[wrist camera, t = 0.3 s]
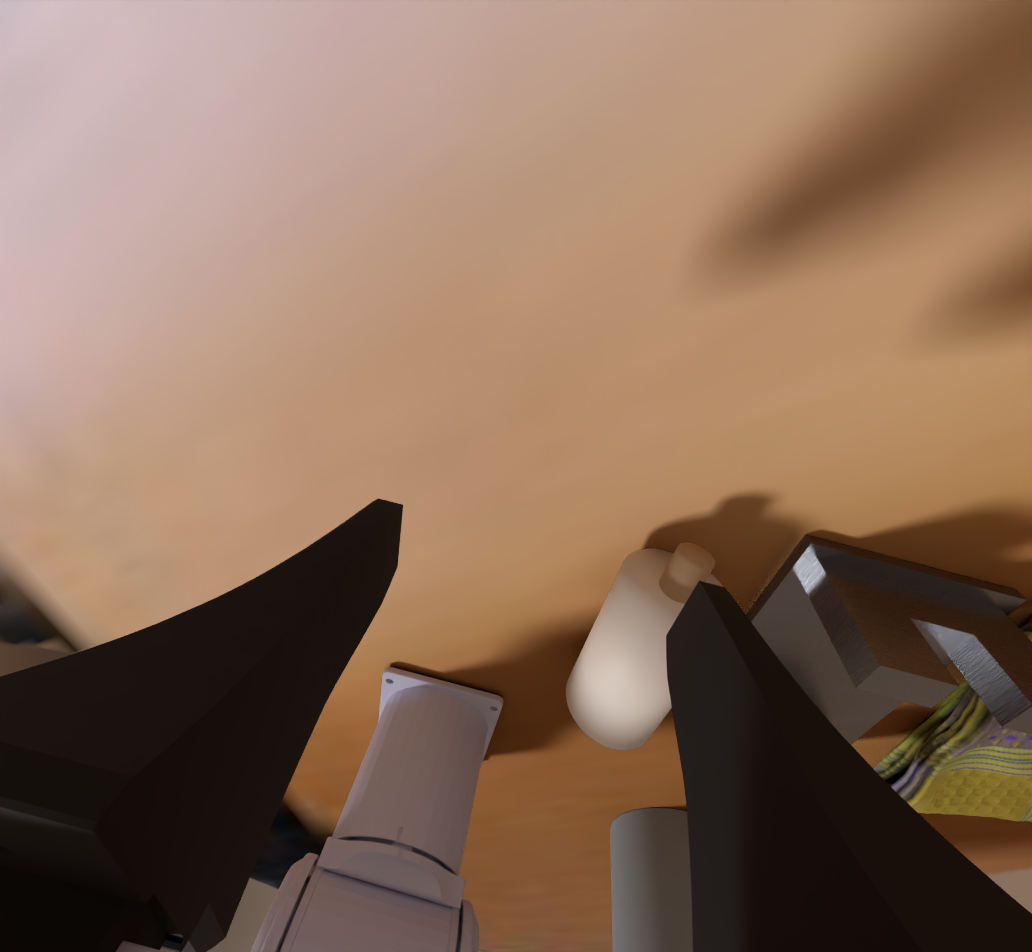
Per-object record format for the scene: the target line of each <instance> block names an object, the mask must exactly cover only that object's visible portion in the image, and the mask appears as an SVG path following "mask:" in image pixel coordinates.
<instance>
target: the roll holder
mask: <svg viewBox="0 0 1032 952" xmlns="http://www.w3.org/2000/svg"><path fill="white" fill-rule="evenodd" d="M1025 601H1026V599H1025V598H1024V597H1023V596H1022V595H1021V594H1020V593H1019V592H1018V591H1017V590H1015V589H1011V588H1007V587H1003V586H1000V585H996V584H992V583H988V582H984V581H981V580H977V579H973V578H969V577H965V576H961V575H958V574H954V573H950V572H946V571H942V570H939V569H935V568H931V567H927V566H923V565H920V564H916V563H912V562H908V561H904V560H900V559H897V558H893V557H889V556H885V555H881V554H878V553H874V552H870V551H866V550H862V549H858V548H855V547H851V546H847V545H843V544H839V543H836V542H832V541H828V540H824V539H820V538H816V537H813V536H809V535H805V536H804V538H803V539H802V540H801V542H800V543H799V544H798V546H797V547H796V548H795V550H794V551H793V552H792V554H791V555H790V557H789V558H788V559H787V561H786V562H785V563H784V565H783V566H782V567H781V569H780V570H779V571H778V573H777V574H776V575H775V577H774V578H773V579H772V581H771V582H770V584H769V585H768V586H767V588H766V589H765V590H764V592H763V593H762V594H761V596H760V597H759V598H758V600H757V601H756V602H755V604H754V605H753V606H752V608H751V609H750V611H749V612H748V613H747V615H746V616H747V617H748V619H749V620H750V621H751V623H752V624H753V625H754V627H755V628H756V629H757V631H758V632H759V633H760V635H761V636H762V637H763V639H764V640H765V642H766V643H767V644H768V646H769V647H770V648H771V649H772V651H773V652H774V653H775V655H776V656H777V657H778V659H779V660H780V661H781V663H782V664H783V665H784V666H785V668H786V669H787V670H788V672H789V673H790V674H791V675H792V677H793V678H794V679H795V680H796V682H797V683H798V684H799V685H800V687H801V688H802V689H803V690H804V692H805V693H806V694H807V695H808V696H809V698H810V699H811V700H812V701H813V702H814V704H815V705H816V706H817V707H818V708H819V710H820V711H821V712H822V713H823V714H824V715H825V717H826V718H827V719H828V720H829V721H830V723H831V724H832V725H833V726H834V727H835V728H836V729H837V730H838V732H839V733H840V734H841V735H842V736H843V737H844V738H845V739H846V740H847V741H848V742H849V744H850V745H851V744H852V743H854V742H855V741H856V740H857V739H859V738H860V737H861V736H862V735H863V734H865V733H866V732H867V731H868V730H869V729H871V728H872V727H873V726H874V725H876V724H877V723H878V722H879V721H880V720H882V719H883V718H884V717H885V716H886V715H888V714H889V713H890V712H891V711H893V710H894V709H895V708H896V707H897V706H899V705H900V704H901V703H902V702H904V701H905V702H909V703H913V704H917V705H920V706H924V707H928V708H932V707H934V706H935V705H936V704H938V703H939V702H940V701H941V700H943V699H944V698H945V697H947V696H948V695H949V694H950V693H952V692H953V691H954V690H956V689H957V688H958V687H960V686H959V685H958V683H957V682H956V681H955V679H954V678H953V676H952V675H951V674H950V672H949V671H948V670H947V668H946V666H947V665H948V664H950V663H951V662H952V661H953V663H954V664H955V665H956V667H957V668H958V669H959V671H960V672H961V673H962V675H963V676H964V677H965V679H966V680H967V681H968V683H969V684H970V685H971V687H972V688H973V689H974V691H975V692H976V693H977V695H978V696H979V697H980V699H981V700H982V701H983V703H984V704H985V705H986V707H987V708H988V709H989V711H990V712H991V713H992V715H993V716H994V717H995V719H996V720H997V721H998V723H999V724H1000V725H1001V727H1004V728H1008V729H1011V730H1015V731H1019V732H1023V733H1027V734H1030V735H1032V641H1031V640H1030V639H1029V638H1028V637H1027V636H1026V635H1025V634H1024V633H1023V632H1022V631H1021V630H1020V629H1019V628H1018V627H1017V625H1016V624H1015V623H1014V622H1013V621H1012V620H1011V619H1010V618H1009V617H1008V615H1009V614H1011V613H1012V612H1013V611H1014V610H1015V609H1017V608H1018V607H1019V606H1020V605H1021V604H1023V603H1024V602H1025Z"/></svg>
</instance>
